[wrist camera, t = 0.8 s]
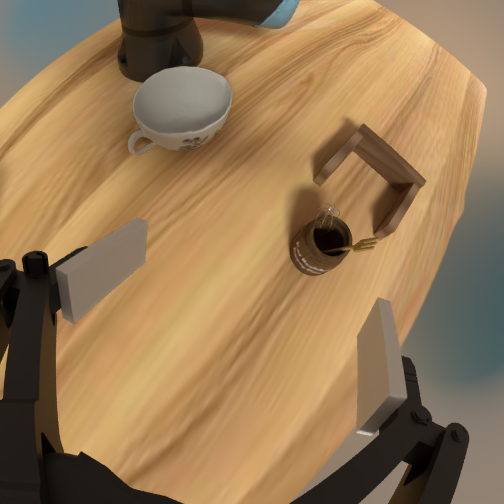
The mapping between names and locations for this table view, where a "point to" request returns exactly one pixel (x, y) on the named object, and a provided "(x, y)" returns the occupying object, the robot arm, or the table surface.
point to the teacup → (180, 108)
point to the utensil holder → (324, 245)
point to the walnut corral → (386, 166)
